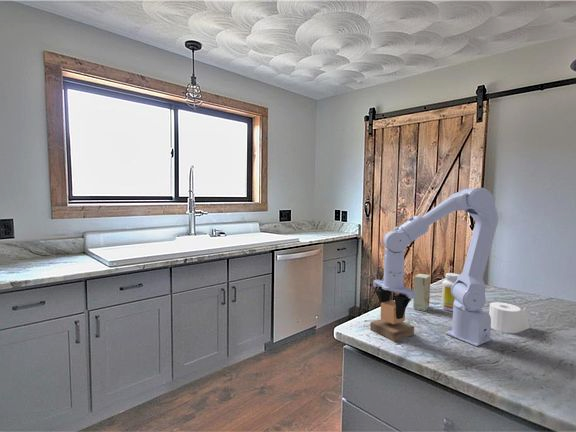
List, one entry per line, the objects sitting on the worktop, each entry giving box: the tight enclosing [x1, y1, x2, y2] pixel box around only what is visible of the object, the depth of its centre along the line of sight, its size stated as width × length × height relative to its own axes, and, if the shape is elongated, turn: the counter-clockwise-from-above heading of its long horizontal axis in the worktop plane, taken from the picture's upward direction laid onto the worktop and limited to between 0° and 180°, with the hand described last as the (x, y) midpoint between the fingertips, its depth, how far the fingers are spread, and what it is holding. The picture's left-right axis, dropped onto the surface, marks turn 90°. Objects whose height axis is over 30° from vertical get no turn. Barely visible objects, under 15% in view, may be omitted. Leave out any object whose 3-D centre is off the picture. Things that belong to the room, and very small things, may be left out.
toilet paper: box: [488, 301, 530, 334], centre depth 104 cm, size 8×11×7 cm
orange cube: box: [380, 299, 406, 324], centre depth 99 cm, size 5×5×5 cm
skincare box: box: [412, 273, 431, 312], centre depth 120 cm, size 6×4×12 cm
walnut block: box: [369, 318, 415, 342], centre depth 99 cm, size 9×9×3 cm
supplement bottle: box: [440, 272, 460, 312], centre depth 119 cm, size 7×7×13 cm
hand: (392, 315), depth 99 cm, fingers closed on orange cube, 5 cm apart
